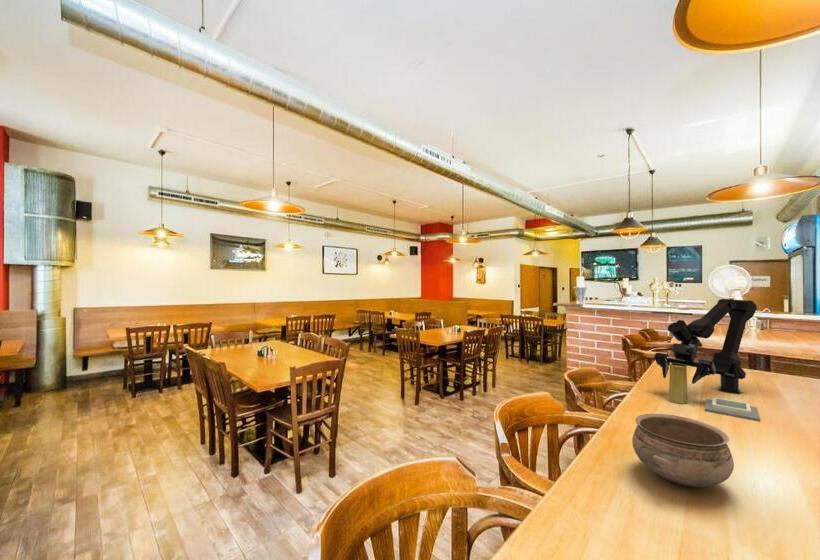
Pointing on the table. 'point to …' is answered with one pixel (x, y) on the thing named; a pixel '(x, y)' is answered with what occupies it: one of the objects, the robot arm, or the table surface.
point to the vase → (678, 383)
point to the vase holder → (732, 408)
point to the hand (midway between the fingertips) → (677, 380)
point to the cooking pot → (683, 450)
